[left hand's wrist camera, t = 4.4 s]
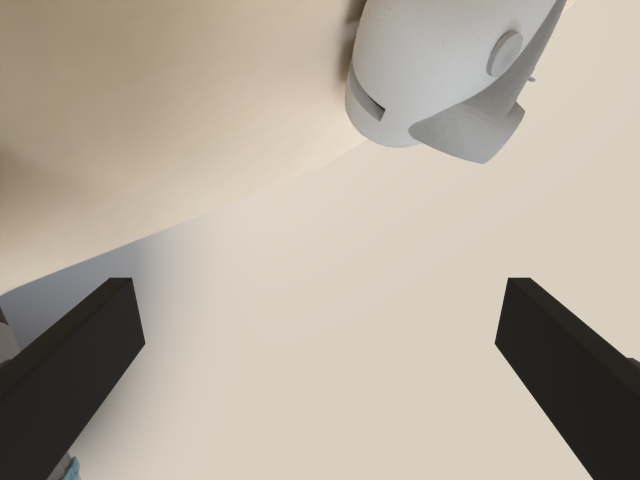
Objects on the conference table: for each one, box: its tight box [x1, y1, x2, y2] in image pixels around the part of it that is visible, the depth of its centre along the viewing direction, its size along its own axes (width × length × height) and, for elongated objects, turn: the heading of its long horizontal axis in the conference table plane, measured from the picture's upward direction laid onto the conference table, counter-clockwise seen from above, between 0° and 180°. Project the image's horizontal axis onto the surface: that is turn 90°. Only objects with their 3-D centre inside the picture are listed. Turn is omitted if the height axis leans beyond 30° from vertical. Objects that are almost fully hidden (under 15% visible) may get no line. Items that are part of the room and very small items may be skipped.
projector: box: [345, 0, 567, 164], centre depth 30 cm, size 22×23×15 cm
